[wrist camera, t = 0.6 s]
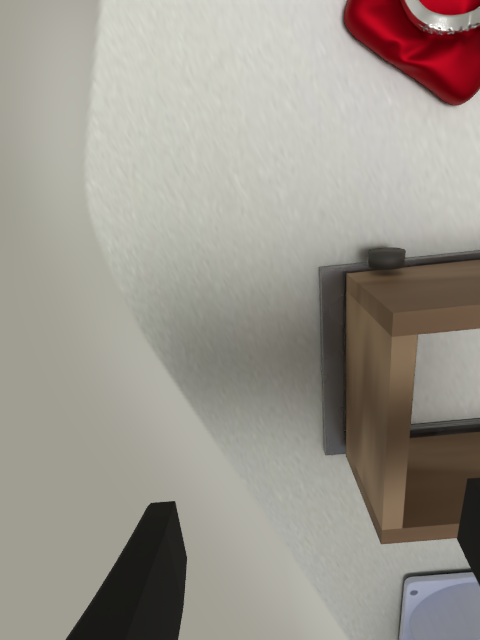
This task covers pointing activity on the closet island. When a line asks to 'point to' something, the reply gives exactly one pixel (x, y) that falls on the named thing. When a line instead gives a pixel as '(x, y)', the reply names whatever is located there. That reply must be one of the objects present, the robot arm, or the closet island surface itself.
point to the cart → (405, 394)
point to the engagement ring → (424, 41)
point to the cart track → (333, 353)
